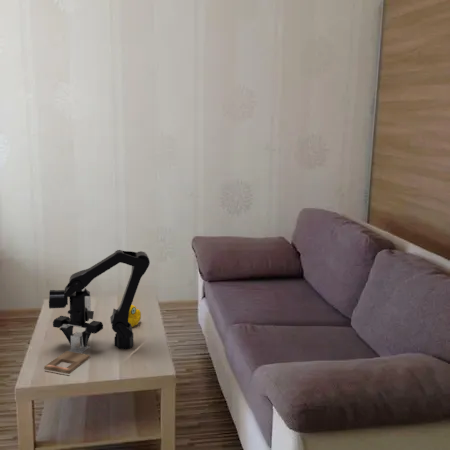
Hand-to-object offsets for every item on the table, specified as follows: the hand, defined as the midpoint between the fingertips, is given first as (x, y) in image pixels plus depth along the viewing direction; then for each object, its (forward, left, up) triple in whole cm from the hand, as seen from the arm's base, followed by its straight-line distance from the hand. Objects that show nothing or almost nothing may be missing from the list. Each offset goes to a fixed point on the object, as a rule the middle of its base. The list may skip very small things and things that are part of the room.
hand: (78, 345), depth 220 cm
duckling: (-7, -31, -3) cm, 32 cm away
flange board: (-3, +12, -2) cm, 13 cm away
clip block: (0, 0, -2) cm, 2 cm away
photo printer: (+20, -34, -3) cm, 40 cm away
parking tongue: (0, 0, -2) cm, 2 cm away
